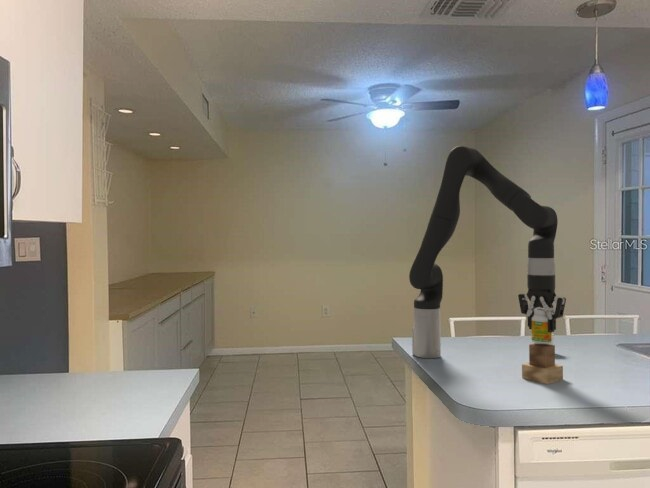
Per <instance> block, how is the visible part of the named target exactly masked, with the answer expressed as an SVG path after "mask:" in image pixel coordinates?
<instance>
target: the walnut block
mask: <svg viewBox="0 0 650 488" xmlns="http://www.w3.org/2000/svg"><path fill="white" fill-rule="evenodd" d="M528 349H529V353H528V355H529V356H528V358H529V362H528V363H529V365H533V366H537V367H542V368H548V367H552V366H555V364H556V345H555V344H553V345H551V344H540V343H534V342H533V343H530V344H529V345H528Z"/></svg>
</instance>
